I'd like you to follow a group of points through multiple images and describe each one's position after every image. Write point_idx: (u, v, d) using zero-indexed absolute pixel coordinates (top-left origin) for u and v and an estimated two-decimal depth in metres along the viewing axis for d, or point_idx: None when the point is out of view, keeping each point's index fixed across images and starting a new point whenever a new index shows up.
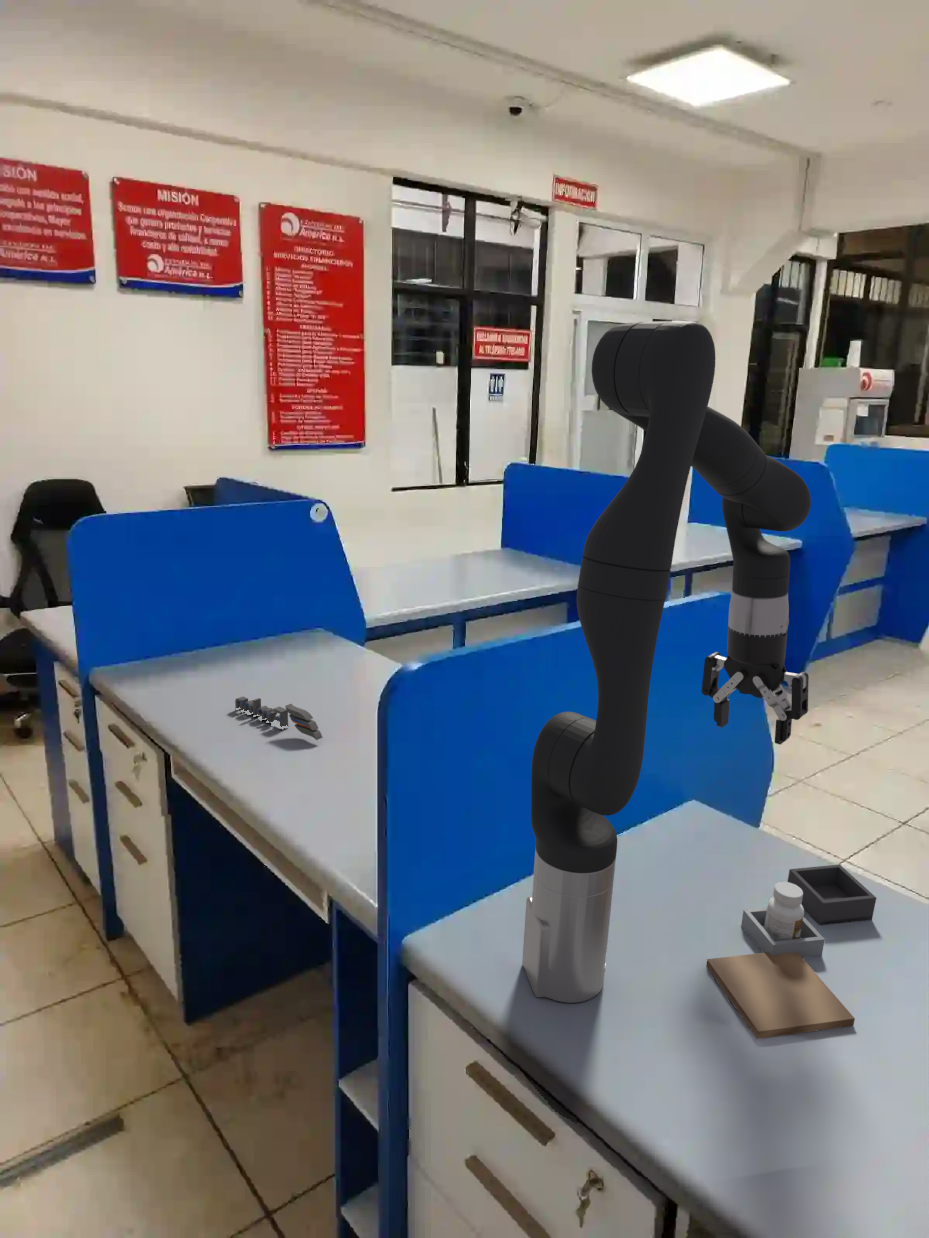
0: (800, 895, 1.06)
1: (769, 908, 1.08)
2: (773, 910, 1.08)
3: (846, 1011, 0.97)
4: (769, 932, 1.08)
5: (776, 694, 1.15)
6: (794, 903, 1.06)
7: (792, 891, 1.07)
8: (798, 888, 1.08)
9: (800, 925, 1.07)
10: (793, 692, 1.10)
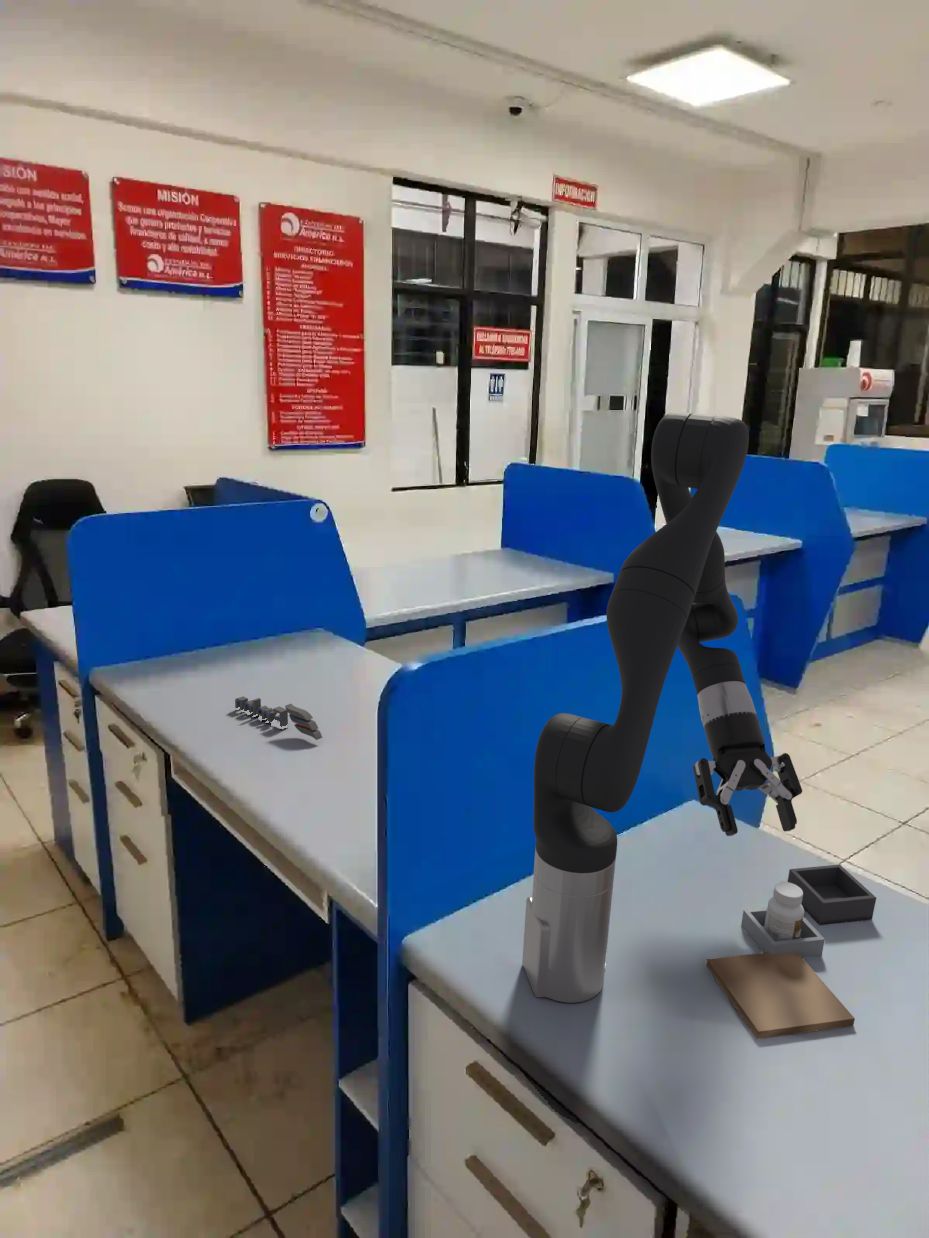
0: (800, 895, 1.06)
1: (769, 908, 1.08)
2: (773, 910, 1.08)
3: (846, 1011, 0.97)
4: (769, 932, 1.08)
5: (763, 787, 1.18)
6: (794, 903, 1.06)
7: (792, 891, 1.07)
8: (798, 888, 1.08)
9: (800, 925, 1.07)
10: (787, 768, 1.18)
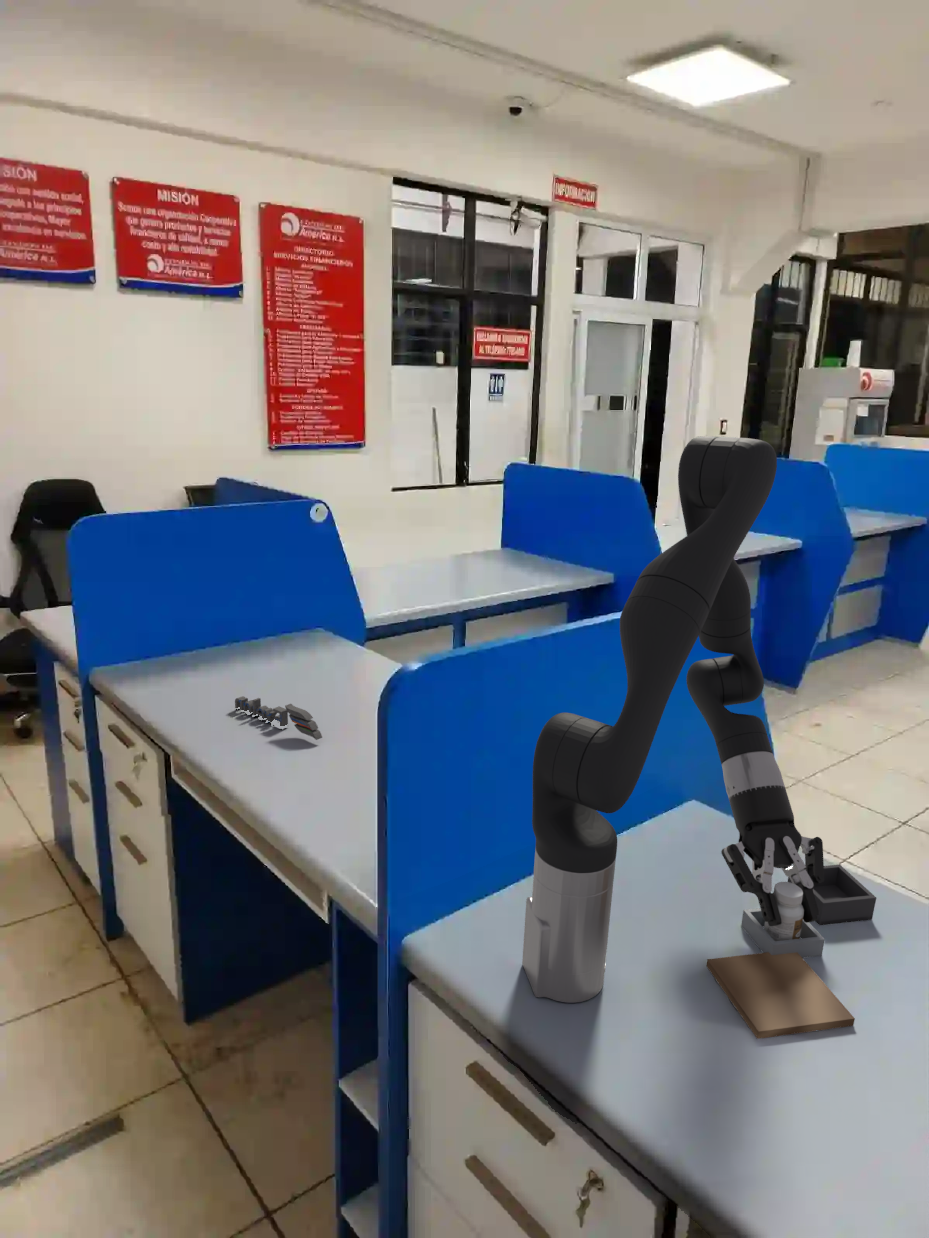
0: (800, 895, 1.06)
1: None
2: None
3: (846, 1011, 0.97)
4: (769, 932, 1.08)
5: (786, 868, 1.11)
6: (794, 903, 1.06)
7: (792, 891, 1.07)
8: (798, 888, 1.08)
9: (800, 925, 1.07)
10: (816, 852, 1.11)
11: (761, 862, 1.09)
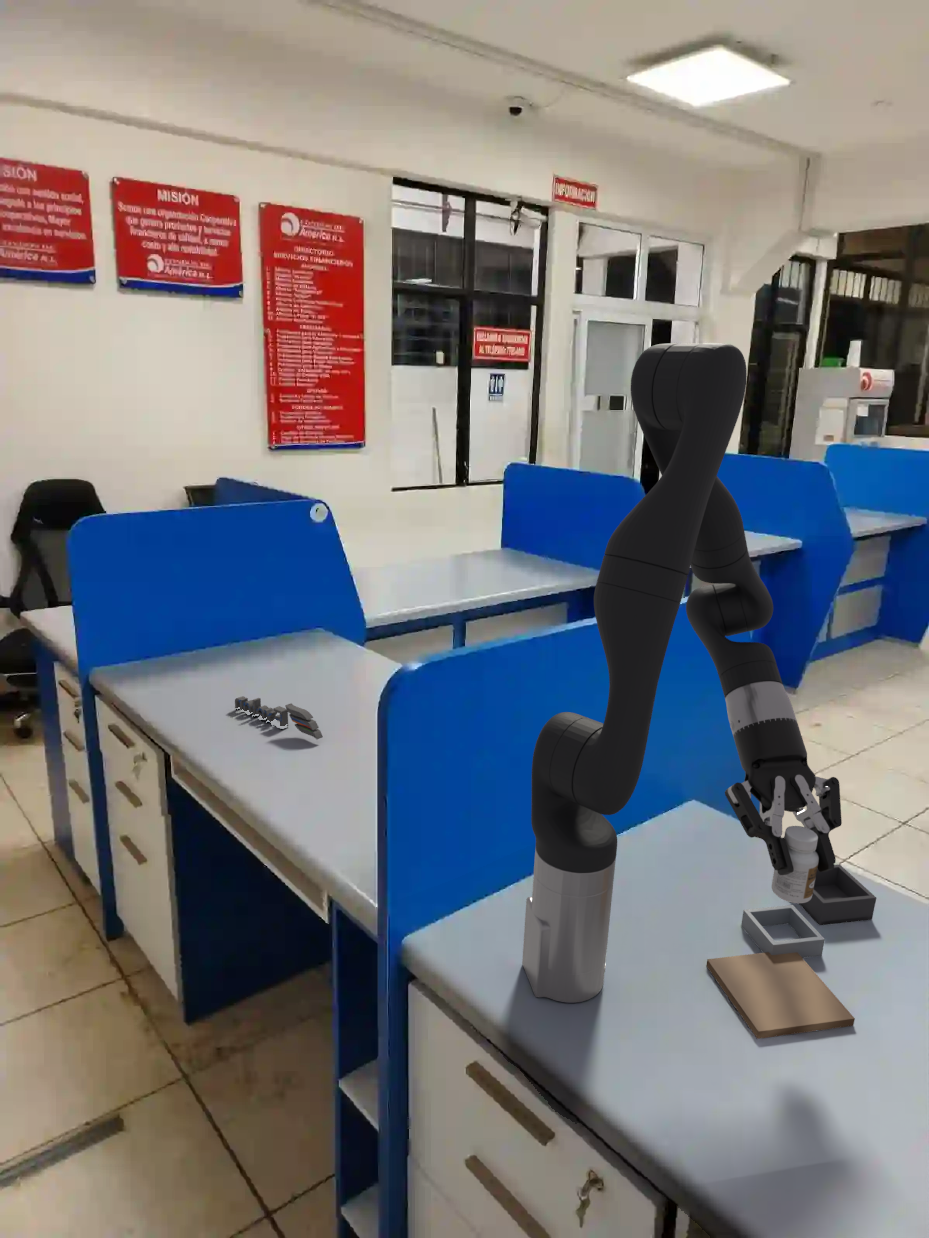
0: (815, 839, 0.93)
1: None
2: None
3: (846, 1011, 0.97)
4: (778, 883, 0.95)
5: (798, 812, 0.98)
6: (808, 848, 0.93)
7: (805, 835, 0.94)
8: (812, 832, 0.95)
9: (814, 874, 0.94)
10: (832, 793, 0.98)
11: (770, 803, 0.96)
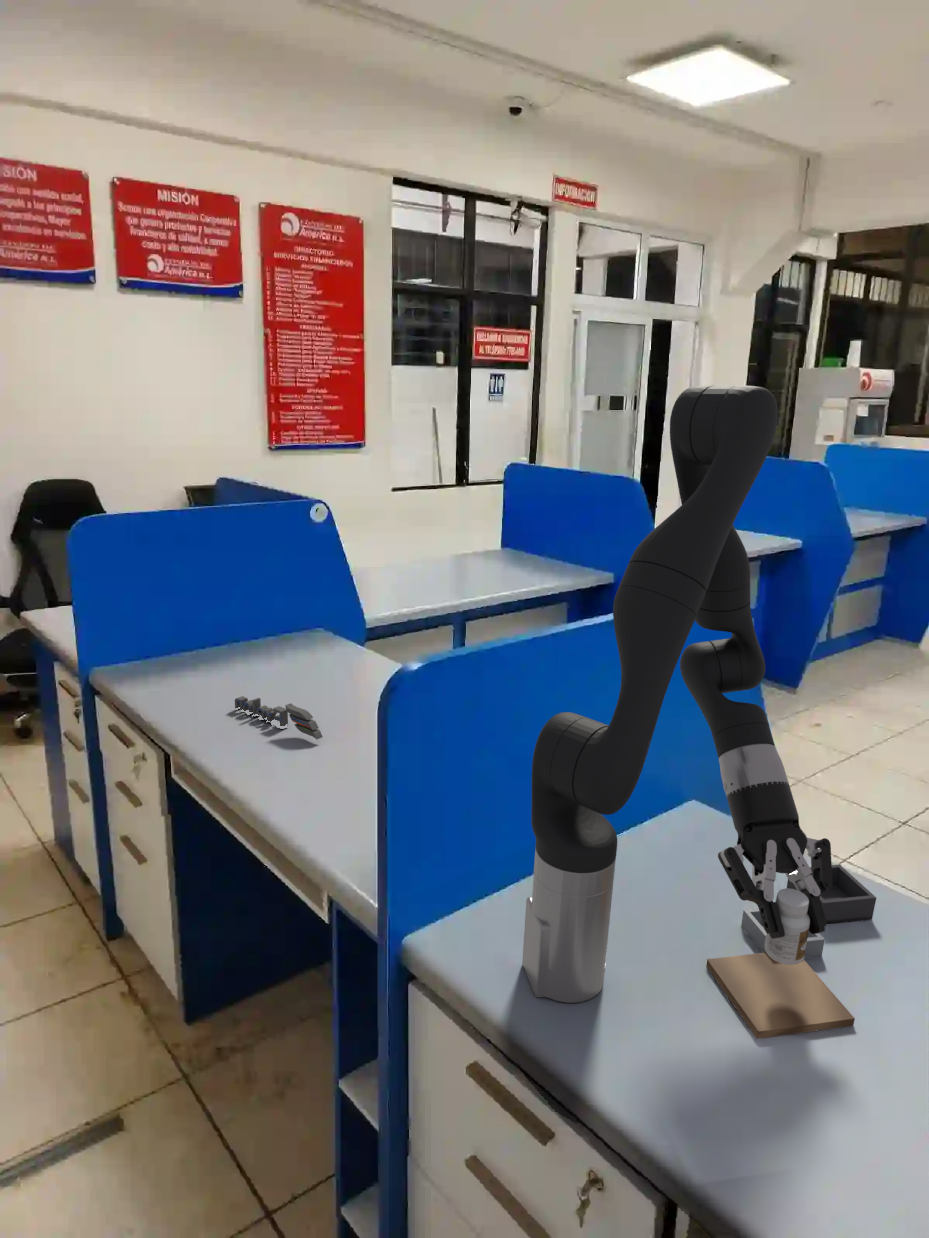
0: (806, 904, 0.95)
1: None
2: None
3: (846, 1011, 0.97)
4: (771, 945, 0.98)
5: (790, 873, 1.00)
6: (799, 913, 0.95)
7: (797, 899, 0.96)
8: (803, 895, 0.97)
9: (806, 937, 0.96)
10: (823, 855, 1.00)
11: (762, 867, 0.98)
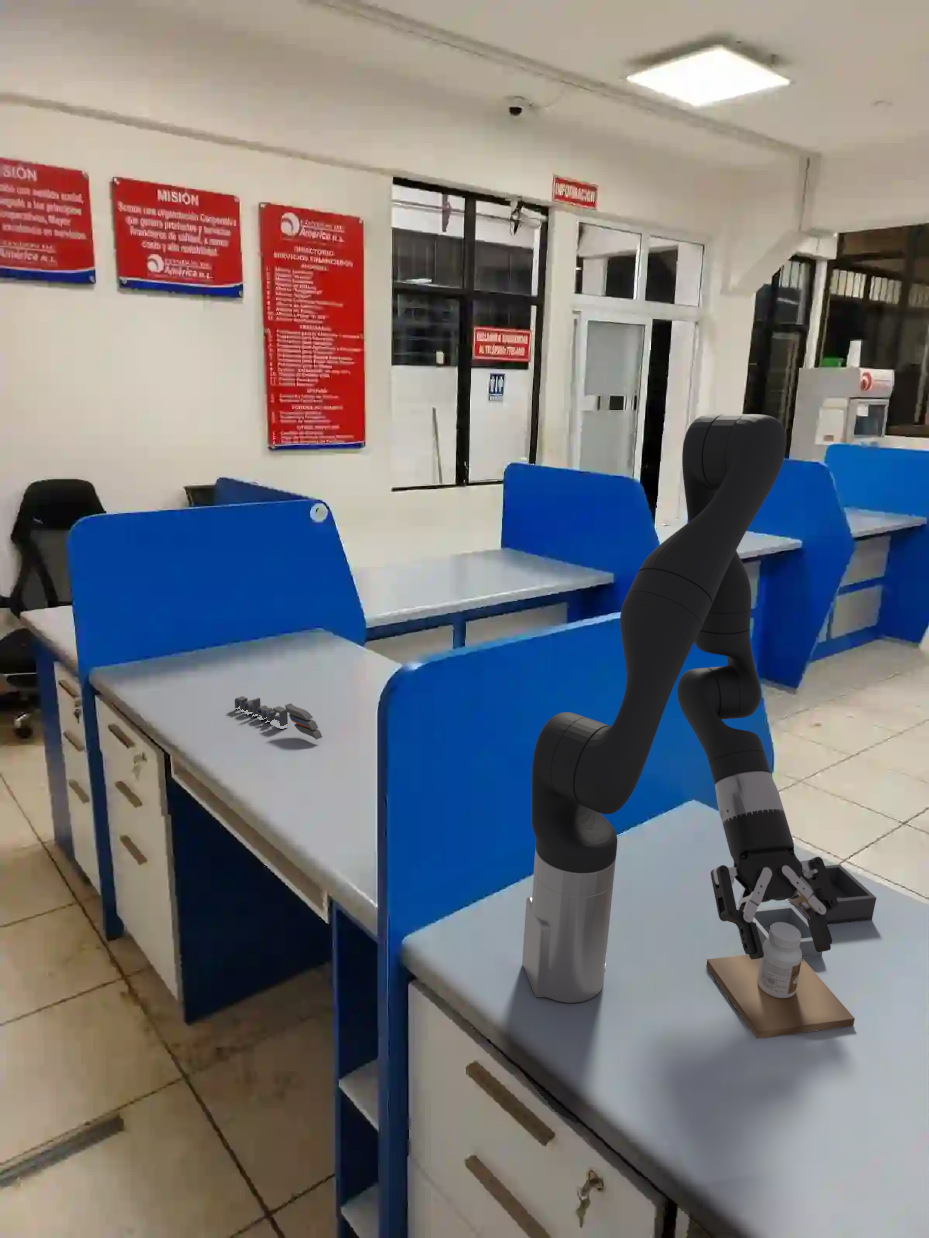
0: (798, 938, 0.97)
1: (764, 951, 0.98)
2: (768, 954, 0.98)
3: (846, 1011, 0.97)
4: (763, 978, 0.99)
5: (792, 897, 1.01)
6: (791, 947, 0.96)
7: (789, 933, 0.97)
8: (796, 929, 0.98)
9: (798, 970, 0.98)
10: (820, 875, 1.01)
11: (751, 890, 0.99)
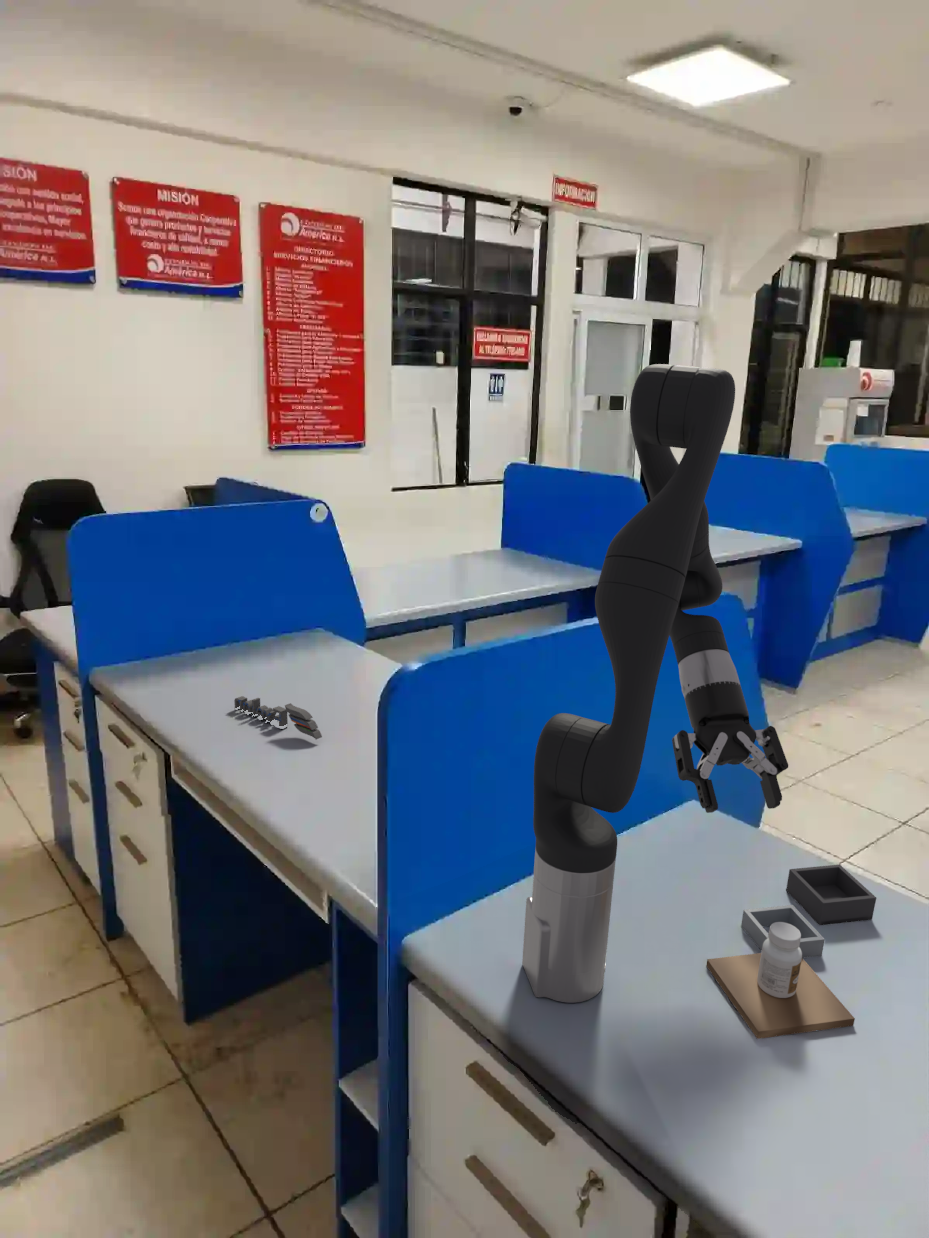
0: (798, 938, 0.97)
1: (764, 951, 0.99)
2: (767, 954, 0.98)
3: (846, 1011, 0.97)
4: (763, 978, 0.99)
5: (747, 762, 1.11)
6: (791, 947, 0.96)
7: (789, 933, 0.97)
8: (795, 929, 0.98)
9: (798, 970, 0.98)
10: (773, 741, 1.10)
11: (708, 753, 1.08)
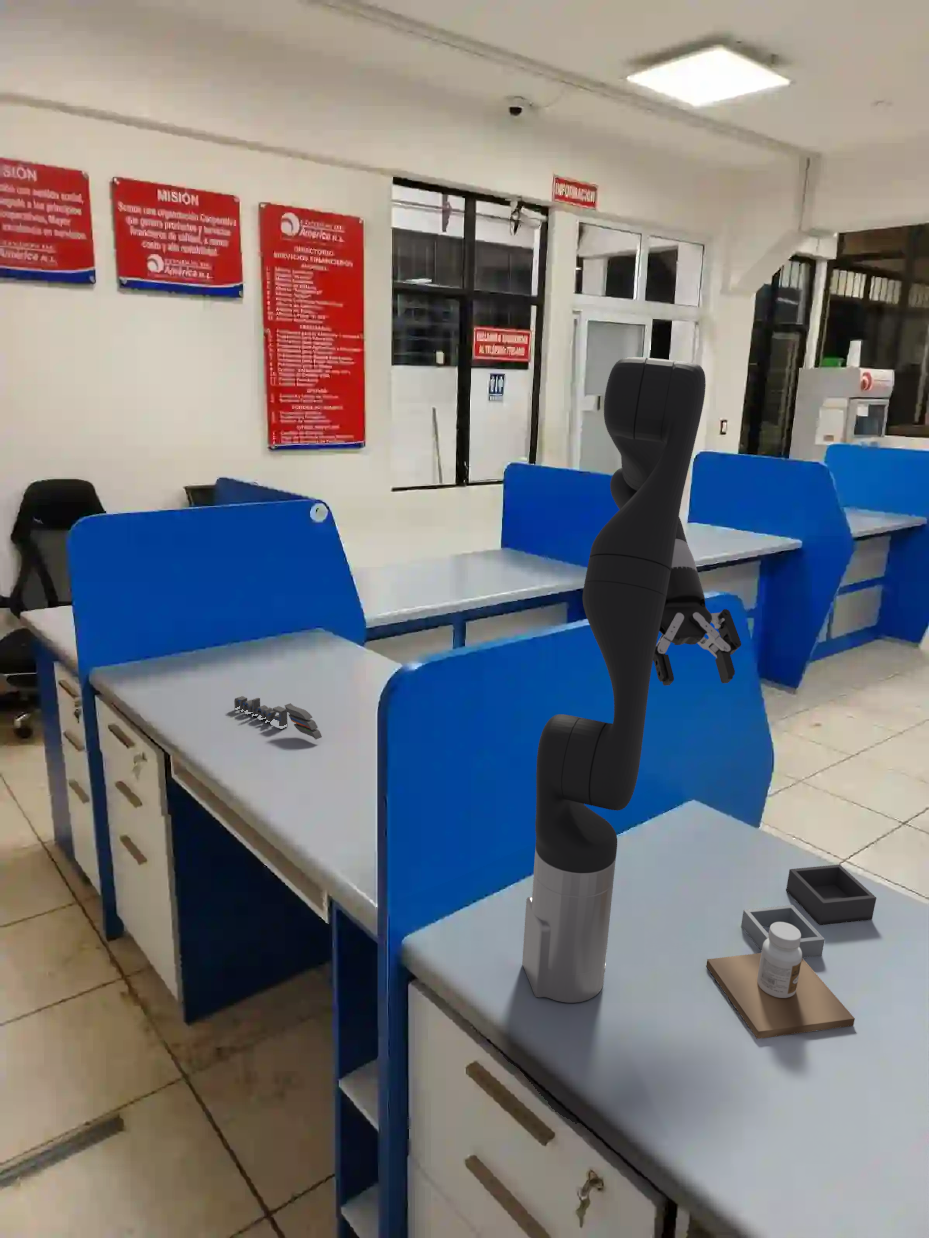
0: (798, 938, 0.97)
1: (764, 951, 0.99)
2: (768, 954, 0.98)
3: (846, 1011, 0.97)
4: (763, 978, 0.99)
5: (703, 642, 1.18)
6: (791, 946, 0.96)
7: (789, 933, 0.97)
8: (796, 929, 0.98)
9: (798, 970, 0.98)
10: (727, 622, 1.17)
11: None
